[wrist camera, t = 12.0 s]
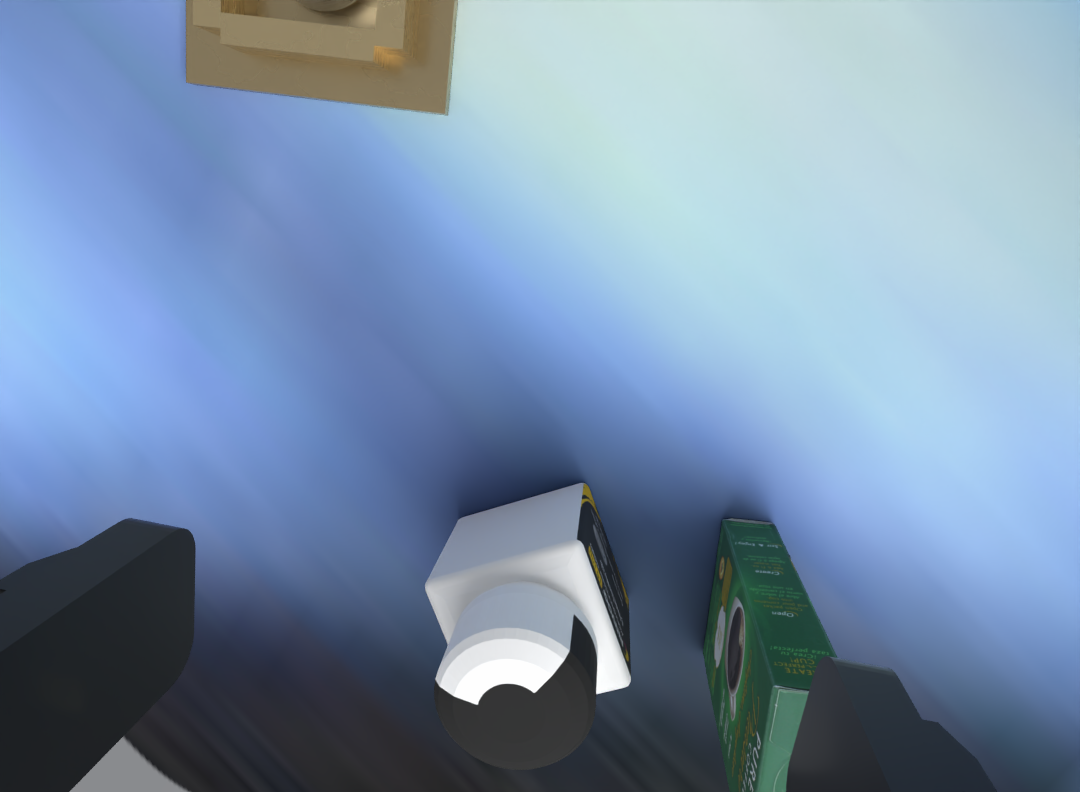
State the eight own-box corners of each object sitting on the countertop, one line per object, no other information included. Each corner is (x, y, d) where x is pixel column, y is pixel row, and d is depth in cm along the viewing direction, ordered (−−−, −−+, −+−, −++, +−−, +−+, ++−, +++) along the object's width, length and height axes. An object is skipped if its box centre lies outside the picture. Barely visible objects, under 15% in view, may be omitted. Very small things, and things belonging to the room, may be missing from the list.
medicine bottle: (630, 602, 38) (636, 774, 26) (503, 634, 39) (454, 813, 28) (587, 478, 36) (573, 603, 25) (456, 516, 38) (384, 652, 26)
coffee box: (755, 663, 38) (823, 889, 25) (699, 657, 38) (739, 877, 26) (778, 521, 36) (865, 690, 23) (719, 515, 36) (773, 679, 24)
